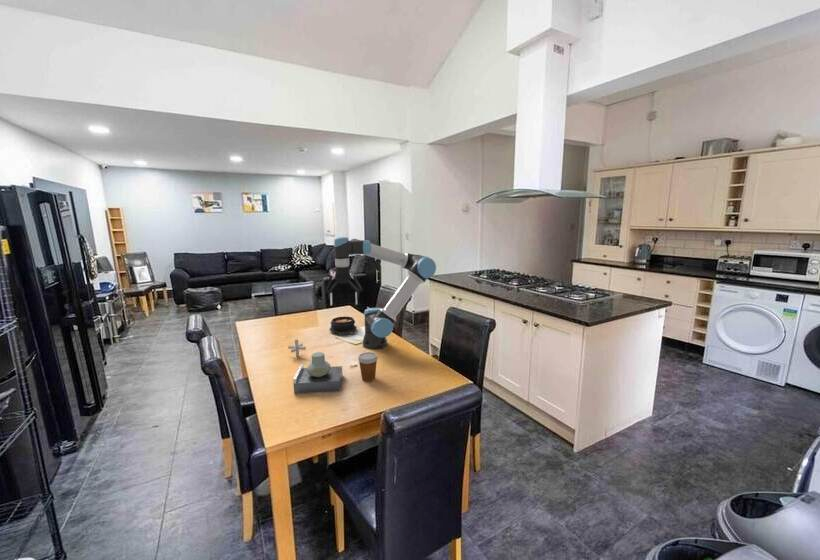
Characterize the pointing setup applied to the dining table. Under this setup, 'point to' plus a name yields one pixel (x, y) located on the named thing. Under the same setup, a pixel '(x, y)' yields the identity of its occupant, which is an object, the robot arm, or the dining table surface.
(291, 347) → the pipe connector
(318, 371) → the air freshener
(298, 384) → the block
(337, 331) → the casserole
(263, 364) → the dining table surface
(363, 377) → the disposable coffee cup
